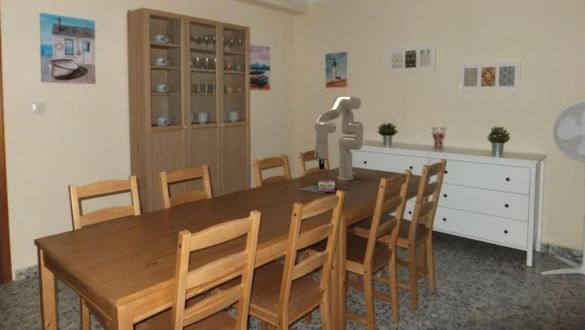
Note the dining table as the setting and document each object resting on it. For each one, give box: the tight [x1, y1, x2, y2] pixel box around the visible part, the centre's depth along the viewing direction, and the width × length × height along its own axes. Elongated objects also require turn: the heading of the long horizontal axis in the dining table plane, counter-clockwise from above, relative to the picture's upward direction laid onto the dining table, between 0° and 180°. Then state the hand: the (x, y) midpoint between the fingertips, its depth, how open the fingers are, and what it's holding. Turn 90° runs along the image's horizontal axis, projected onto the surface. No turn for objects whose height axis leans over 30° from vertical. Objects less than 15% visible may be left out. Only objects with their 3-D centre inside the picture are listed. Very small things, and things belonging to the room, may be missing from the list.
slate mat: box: [299, 185, 327, 195], centre depth 290 cm, size 15×18×1 cm
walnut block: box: [335, 179, 348, 191], centre depth 293 cm, size 6×6×6 cm
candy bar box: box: [317, 179, 336, 193], centre depth 288 cm, size 11×5×16 cm
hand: (321, 169), depth 292 cm, fingers closed
